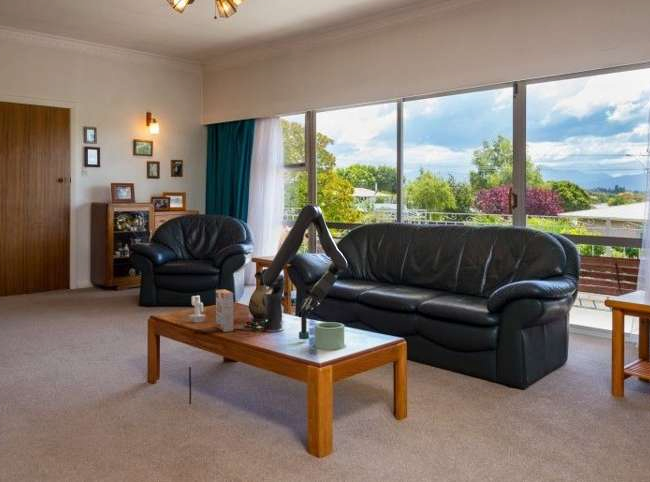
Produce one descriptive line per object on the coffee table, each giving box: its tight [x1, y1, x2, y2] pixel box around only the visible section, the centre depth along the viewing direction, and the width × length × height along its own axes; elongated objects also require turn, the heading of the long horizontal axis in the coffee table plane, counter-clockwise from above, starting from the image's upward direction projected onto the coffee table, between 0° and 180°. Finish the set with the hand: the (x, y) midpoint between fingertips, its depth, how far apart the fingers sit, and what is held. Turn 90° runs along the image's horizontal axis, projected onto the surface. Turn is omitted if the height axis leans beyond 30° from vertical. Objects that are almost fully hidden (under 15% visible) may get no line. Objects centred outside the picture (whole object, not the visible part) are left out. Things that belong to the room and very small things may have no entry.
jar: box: [314, 321, 345, 351], centre depth 269 cm, size 14×14×10 cm
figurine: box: [188, 295, 207, 323], centre depth 325 cm, size 7×9×15 cm
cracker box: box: [215, 289, 234, 333], centre depth 304 cm, size 14×6×21 cm, turn 27°
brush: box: [298, 307, 310, 340], centre depth 277 cm, size 5×5×15 cm
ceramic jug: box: [248, 268, 269, 321], centre depth 333 cm, size 17×15×30 cm
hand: (300, 316), depth 276 cm, fingers closed on brush, 2 cm apart
